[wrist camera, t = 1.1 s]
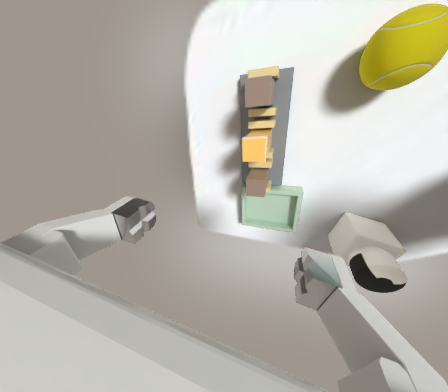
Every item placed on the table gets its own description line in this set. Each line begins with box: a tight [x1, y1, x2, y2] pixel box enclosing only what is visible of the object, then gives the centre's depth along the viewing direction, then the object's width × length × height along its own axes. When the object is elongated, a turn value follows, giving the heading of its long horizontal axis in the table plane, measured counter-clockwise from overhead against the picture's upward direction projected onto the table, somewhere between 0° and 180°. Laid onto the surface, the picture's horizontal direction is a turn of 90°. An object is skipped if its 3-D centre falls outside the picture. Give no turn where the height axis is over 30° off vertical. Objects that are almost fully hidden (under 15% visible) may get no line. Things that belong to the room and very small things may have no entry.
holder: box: [240, 66, 294, 197], centre depth 26 cm, size 19×8×9 cm, turn 5°
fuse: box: [242, 128, 272, 162], centre depth 25 cm, size 3×3×10 cm
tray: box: [241, 183, 303, 233], centre depth 35 cm, size 12×10×3 cm
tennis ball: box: [359, 4, 448, 90], centre depth 18 cm, size 7×7×7 cm
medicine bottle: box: [328, 212, 407, 293], centre depth 28 cm, size 7×7×12 cm
